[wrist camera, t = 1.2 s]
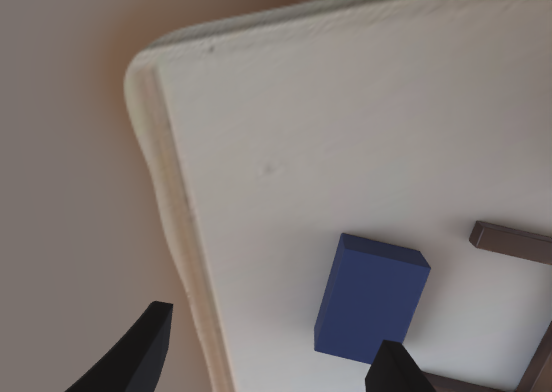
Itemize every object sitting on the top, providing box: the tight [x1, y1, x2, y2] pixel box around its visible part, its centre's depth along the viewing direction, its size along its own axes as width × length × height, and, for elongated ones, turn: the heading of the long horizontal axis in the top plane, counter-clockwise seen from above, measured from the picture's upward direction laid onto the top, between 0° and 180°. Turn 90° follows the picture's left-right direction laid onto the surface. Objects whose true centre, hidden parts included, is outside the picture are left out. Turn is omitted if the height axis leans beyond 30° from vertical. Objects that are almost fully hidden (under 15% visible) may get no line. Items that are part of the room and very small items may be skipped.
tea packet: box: [314, 233, 431, 365], centre depth 25 cm, size 8×6×2 cm
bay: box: [423, 221, 552, 392], centre depth 26 cm, size 14×9×1 cm, turn 168°
